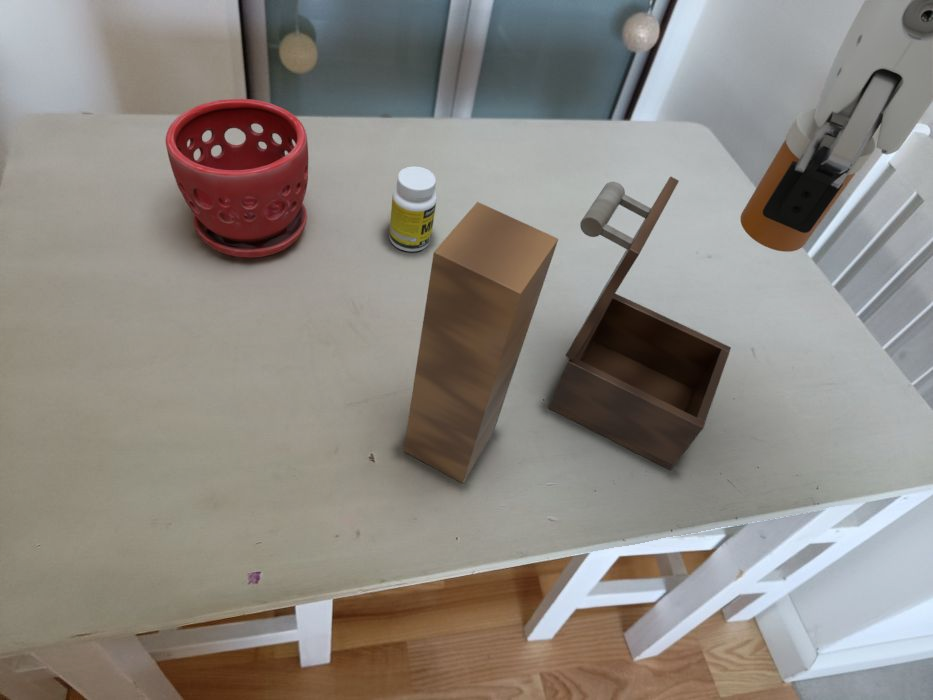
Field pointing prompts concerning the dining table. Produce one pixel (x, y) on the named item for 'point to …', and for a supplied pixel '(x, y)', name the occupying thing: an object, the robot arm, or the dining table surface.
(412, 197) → the supplement bottle
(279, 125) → the flower pot
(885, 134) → the robot arm
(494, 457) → the dining table surface
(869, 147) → the pill bottle
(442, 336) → the stand
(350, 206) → the dining table surface
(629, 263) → the lid
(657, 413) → the chest
